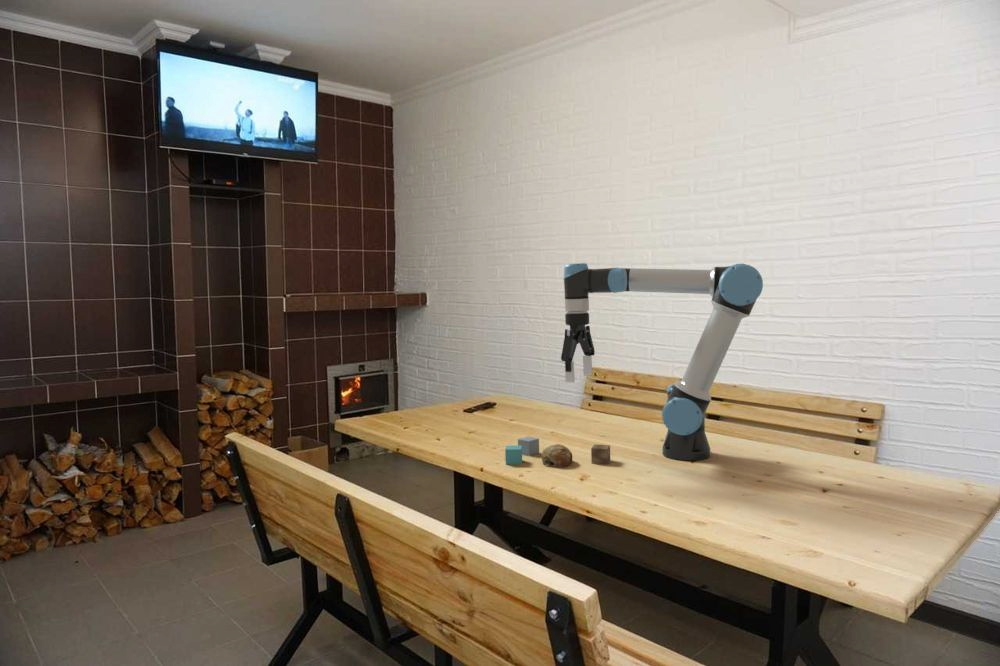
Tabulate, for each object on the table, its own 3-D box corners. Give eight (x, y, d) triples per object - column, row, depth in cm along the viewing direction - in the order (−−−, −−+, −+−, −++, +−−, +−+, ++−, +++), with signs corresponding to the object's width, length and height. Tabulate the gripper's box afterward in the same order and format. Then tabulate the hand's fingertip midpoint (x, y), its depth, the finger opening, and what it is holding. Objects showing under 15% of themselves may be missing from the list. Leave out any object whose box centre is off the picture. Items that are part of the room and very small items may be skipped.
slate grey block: (539, 453, 237) (538, 438, 237) (529, 456, 234) (528, 441, 233) (528, 450, 241) (528, 436, 240) (518, 453, 237) (517, 439, 237)
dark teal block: (522, 460, 229) (521, 445, 228) (521, 464, 224) (520, 449, 223) (507, 460, 229) (506, 445, 229) (505, 464, 224) (505, 449, 224)
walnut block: (610, 460, 226) (610, 445, 225) (607, 464, 221) (606, 449, 221) (595, 459, 228) (594, 444, 227) (591, 463, 223) (591, 448, 222)
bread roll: (539, 475, 224) (534, 455, 220) (550, 454, 232) (545, 435, 228) (568, 478, 220) (563, 458, 216) (578, 457, 227) (574, 438, 224)
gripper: (582, 309, 236) (584, 372, 237) (548, 315, 214) (550, 384, 216) (603, 309, 232) (605, 373, 233) (570, 315, 210) (573, 385, 212)
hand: (579, 378), depth 225 cm, fingers open, 13 cm apart
